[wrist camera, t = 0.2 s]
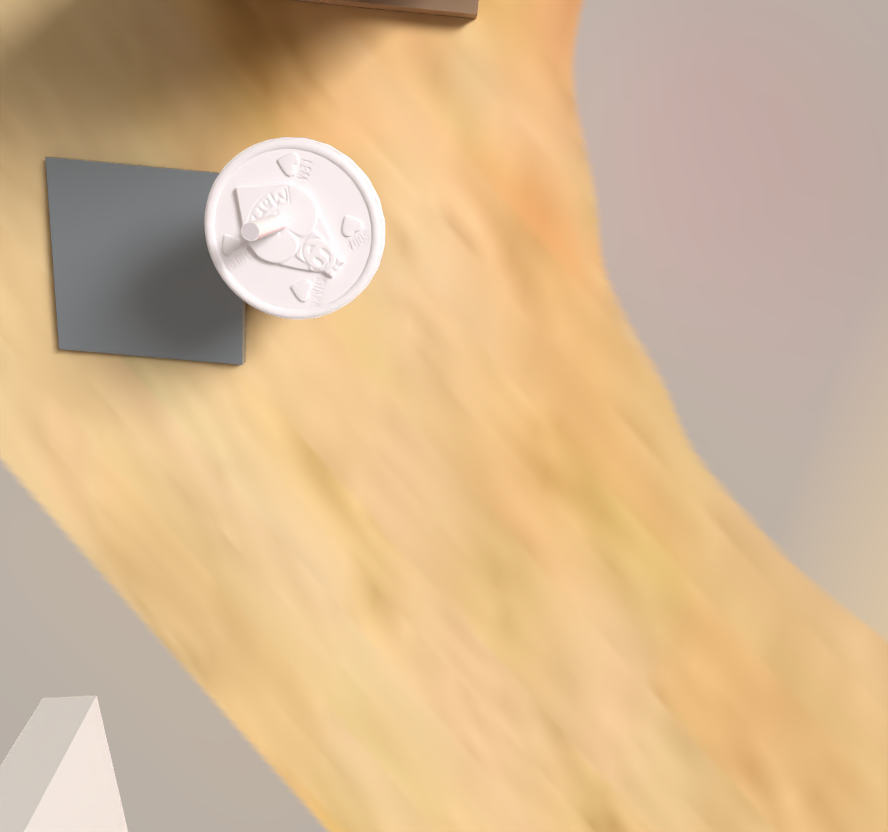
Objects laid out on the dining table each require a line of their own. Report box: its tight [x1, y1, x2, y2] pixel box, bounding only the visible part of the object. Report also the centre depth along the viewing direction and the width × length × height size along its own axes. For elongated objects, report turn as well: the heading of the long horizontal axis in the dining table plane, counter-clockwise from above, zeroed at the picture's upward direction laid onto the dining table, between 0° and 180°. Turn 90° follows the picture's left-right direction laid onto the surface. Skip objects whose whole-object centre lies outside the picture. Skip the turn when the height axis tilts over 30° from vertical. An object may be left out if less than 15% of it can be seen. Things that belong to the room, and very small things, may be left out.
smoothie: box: [204, 137, 385, 319], centre depth 29 cm, size 6×6×14 cm
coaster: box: [45, 157, 246, 365], centre depth 36 cm, size 9×9×1 cm
